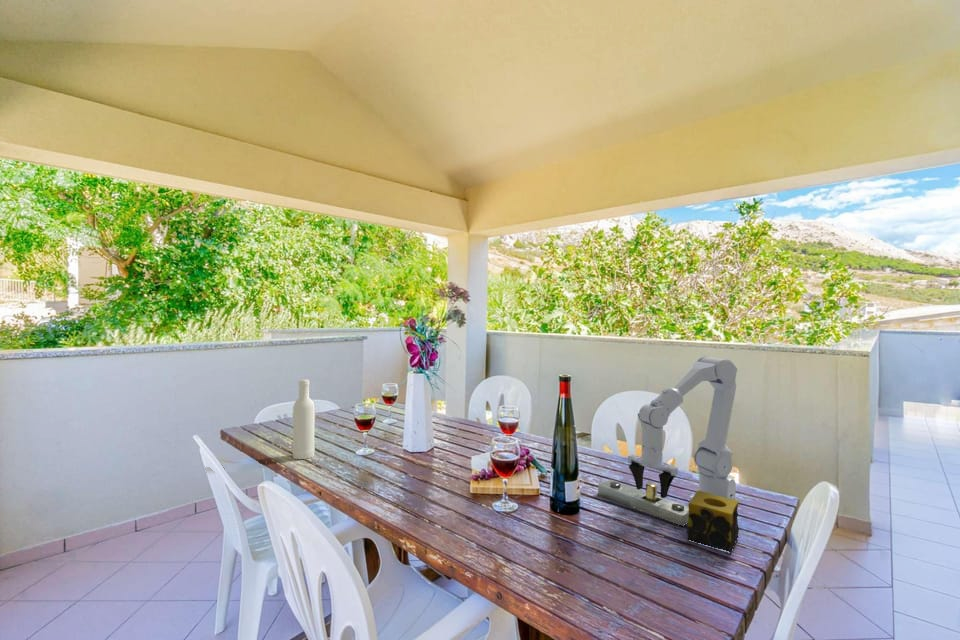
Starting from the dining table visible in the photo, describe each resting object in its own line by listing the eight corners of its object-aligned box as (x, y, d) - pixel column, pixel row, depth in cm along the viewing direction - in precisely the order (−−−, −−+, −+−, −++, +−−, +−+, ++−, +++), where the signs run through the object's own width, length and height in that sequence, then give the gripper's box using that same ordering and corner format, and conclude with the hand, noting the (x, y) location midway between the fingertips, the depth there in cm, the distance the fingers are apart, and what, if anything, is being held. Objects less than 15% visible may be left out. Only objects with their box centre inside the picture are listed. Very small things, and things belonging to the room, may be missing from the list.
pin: (658, 509, 128) (658, 485, 128) (653, 512, 126) (653, 487, 126) (648, 505, 130) (649, 482, 130) (643, 508, 128) (644, 484, 128)
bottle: (287, 458, 168) (288, 380, 168) (301, 452, 175) (302, 378, 175) (305, 460, 166) (306, 382, 165) (318, 454, 173) (319, 379, 173)
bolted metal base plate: (694, 519, 121) (694, 506, 121) (682, 526, 117) (682, 513, 117) (611, 488, 143) (611, 477, 142) (598, 493, 138) (598, 482, 138)
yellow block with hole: (695, 526, 118) (696, 489, 118) (738, 539, 111) (739, 500, 111) (685, 541, 110) (686, 501, 110) (731, 555, 103) (732, 513, 103)
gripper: (622, 443, 131) (621, 488, 131) (669, 455, 119) (668, 504, 120) (635, 439, 135) (634, 482, 135) (681, 450, 124) (680, 498, 124)
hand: (651, 492), depth 128 cm, fingers open, 7 cm apart
